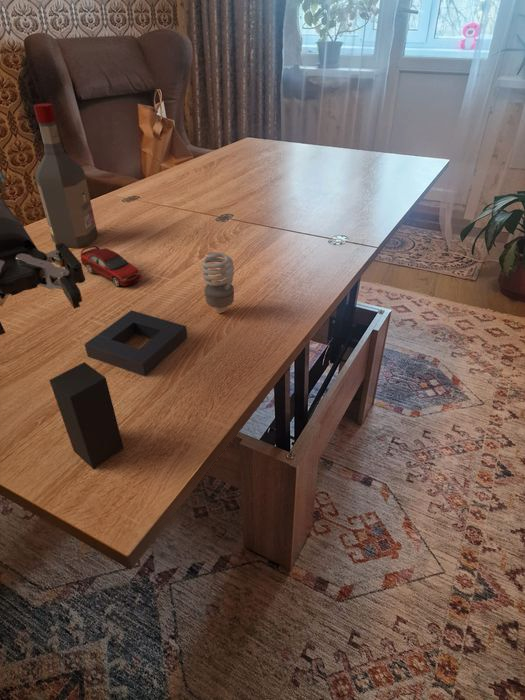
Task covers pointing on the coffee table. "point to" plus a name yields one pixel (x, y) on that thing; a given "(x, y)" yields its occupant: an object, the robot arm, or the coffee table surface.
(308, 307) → the coffee table surface
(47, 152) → the liquor
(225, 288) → the light bulb
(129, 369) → the base pad
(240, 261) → the coffee table surface
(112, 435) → the post
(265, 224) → the coffee table surface
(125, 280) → the toy car
